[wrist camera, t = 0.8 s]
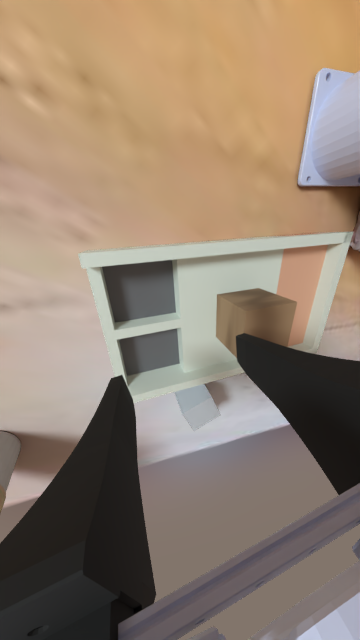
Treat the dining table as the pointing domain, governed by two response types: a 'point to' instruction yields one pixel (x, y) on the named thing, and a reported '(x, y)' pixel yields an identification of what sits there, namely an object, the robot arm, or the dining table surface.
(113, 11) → the dining table surface
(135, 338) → the tray
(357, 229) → the grey-brown rough block
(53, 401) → the dining table surface
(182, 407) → the grey block
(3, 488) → the coffee cup
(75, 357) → the dining table surface
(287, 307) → the walnut block
